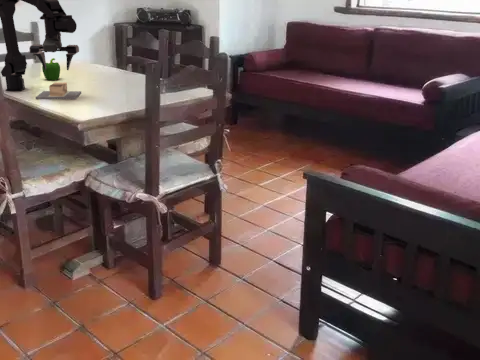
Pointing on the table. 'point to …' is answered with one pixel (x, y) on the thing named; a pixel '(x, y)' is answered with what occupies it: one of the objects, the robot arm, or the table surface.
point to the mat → (66, 96)
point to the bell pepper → (52, 70)
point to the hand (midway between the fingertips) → (56, 70)
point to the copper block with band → (58, 89)
